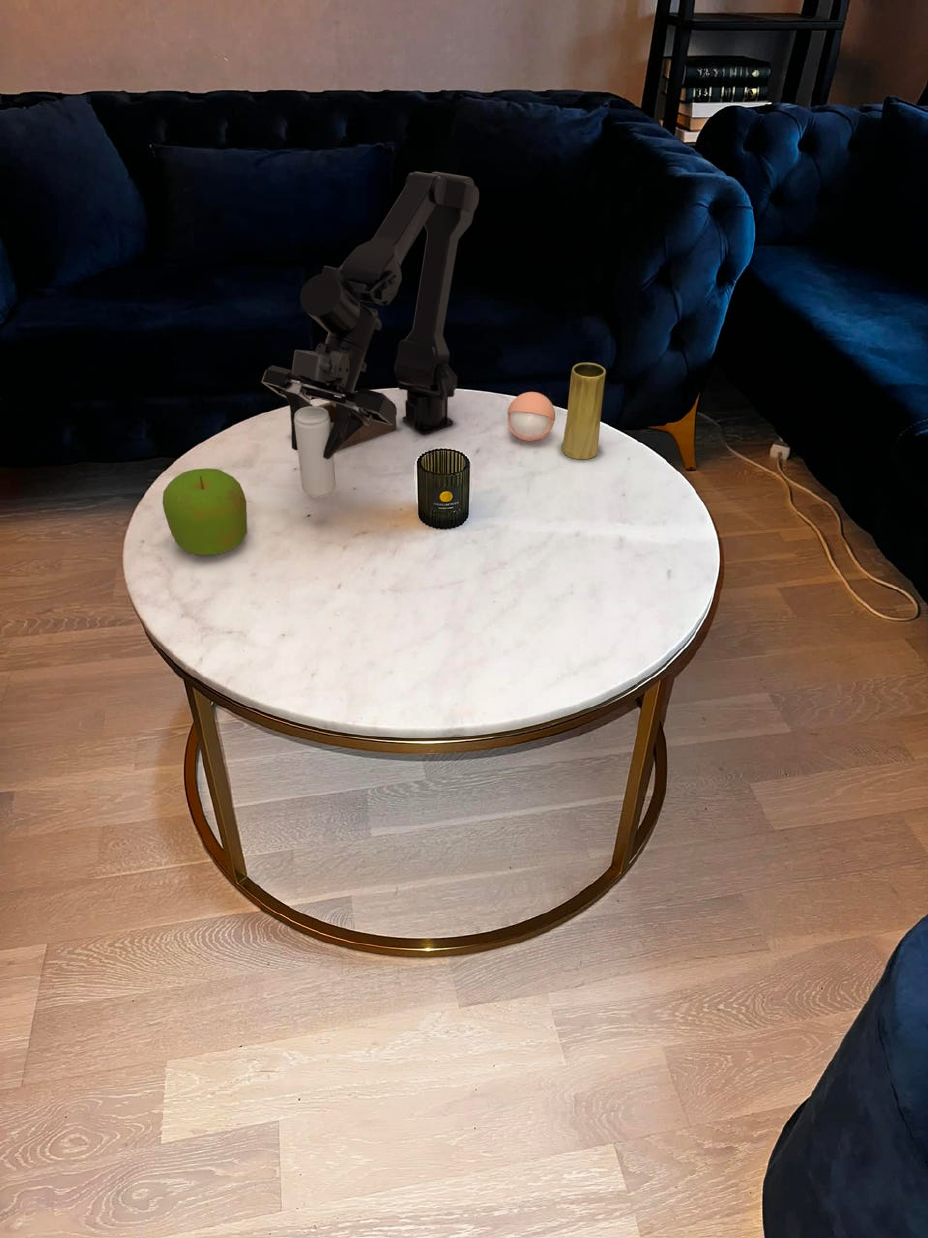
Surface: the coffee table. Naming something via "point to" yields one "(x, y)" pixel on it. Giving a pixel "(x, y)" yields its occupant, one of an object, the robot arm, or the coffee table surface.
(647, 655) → the coffee table surface
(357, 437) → the brown wooden divided box
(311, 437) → the beverage can
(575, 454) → the vase
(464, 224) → the robot arm
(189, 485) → the apple
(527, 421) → the toy ball
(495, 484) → the coffee table surface
